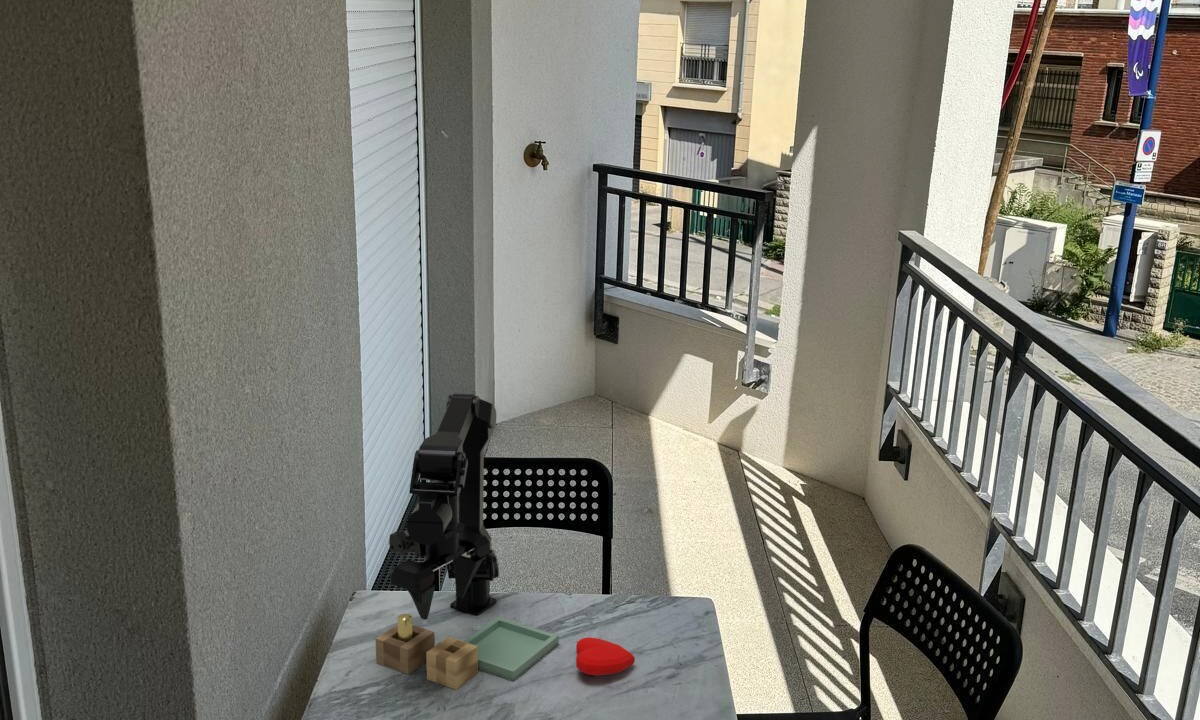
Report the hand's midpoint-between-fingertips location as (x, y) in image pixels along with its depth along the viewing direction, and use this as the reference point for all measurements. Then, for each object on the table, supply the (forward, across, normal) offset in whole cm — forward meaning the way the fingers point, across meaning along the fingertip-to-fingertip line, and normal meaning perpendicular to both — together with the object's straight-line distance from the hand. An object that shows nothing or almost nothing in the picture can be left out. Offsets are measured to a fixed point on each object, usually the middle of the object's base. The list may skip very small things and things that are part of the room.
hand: (442, 607), depth 180 cm
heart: (+12, -17, +21) cm, 30 cm away
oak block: (+12, 0, +2) cm, 12 cm away
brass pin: (+12, 0, -8) cm, 15 cm away
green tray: (+12, -12, +4) cm, 17 cm away
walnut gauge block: (+12, 0, -8) cm, 15 cm away
